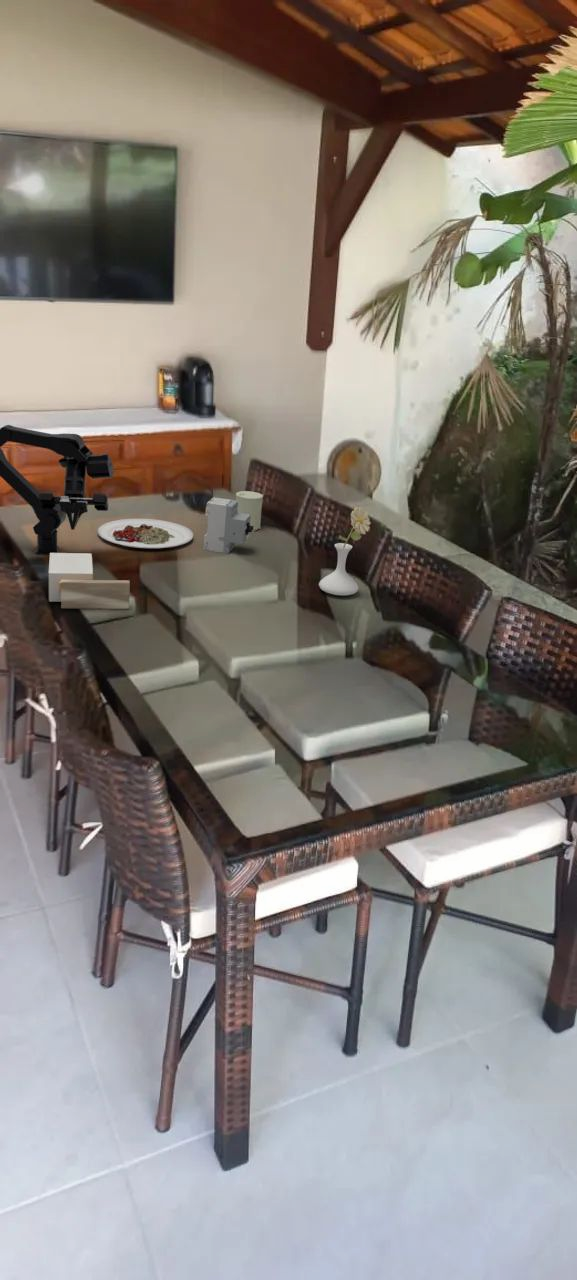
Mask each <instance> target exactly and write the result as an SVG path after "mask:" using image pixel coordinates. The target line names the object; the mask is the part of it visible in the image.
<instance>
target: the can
mask: <svg viewBox="0 0 577 1280" xmlns="http://www.w3.org/2000/svg"><path fill="white" fill-rule="evenodd" d="M263 499H264V496H263V494H262V493H259V492H257V491H256V492H255V491H247V490H243V491H237V492H236V493H235V501H238V508H237V513H244V514H250V515H251V519H250V526H254V527H253V529H257V528H260V529H261V519H262V508H263V507H262V506H263Z"/></svg>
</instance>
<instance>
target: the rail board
mask: <svg viewBox="0 0 577 1280" xmlns="http://www.w3.org/2000/svg"><path fill="white" fill-rule="evenodd" d="M130 585H131V584H130V580H129V579H128V580H127V579H126V580H123V579H122V580H119V579H117V580H116V579H115V580H113V579H108V580H107V579H93V580H61V602H60V604H61V605H60V608H61V609H99V608H100V609H102V610H103V609H111V610H113V609H114V610H115V609H116V610H120V609H123V610H124V609H125V610H126V609H130V592H131V591H130V590H131V589H130V588H131V587H130ZM100 609H99V610H100Z"/></svg>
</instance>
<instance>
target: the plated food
mask: <svg viewBox="0 0 577 1280" xmlns="http://www.w3.org/2000/svg"><path fill="white" fill-rule="evenodd" d="M97 534H98V535H99V536H100V537H101V539H103V540H105V541H108V542H110V543H113V544H116V545H121V546H123V547H129V548H134V549H150V550H151V549H152V550H153V549H165V548H166V549H167V548H174V547H178V546H182V545H185V544H187V543H189V542H191V541H192V540H193V538H194V533H193V531H192V530H191V529H190V528H188V527H187V526H184V525H183V524H179V523H176V522H171V521H168V520H164V519H163V520H162V519H153V518H123V519H122V518H121V519H118V520H117V519H116V520H113V521H109V522H105V523H104V524H102V525H100V526H99V527H98V529H97Z"/></svg>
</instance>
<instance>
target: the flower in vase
mask: <svg viewBox="0 0 577 1280" xmlns="http://www.w3.org/2000/svg"><path fill="white" fill-rule="evenodd" d="M368 513H369V512H368ZM368 513H367V512H366V510H365V509H364V508H363V507H362V506H360V507H359V506H356V507H354V508H353V510H352V511H351V513H350V521H351V523H350V524H351V526H352V528H351V529H350V530H351V531H350V532H349V534H348V536H347V538H346V537H343V535H340V534H339V536H338V539H339V540H341V541H345V542H343V543H342V542H338V543H335V544H334V548H335V549H336V552H337V562H336V563H337V565H336V568H335V570H334V571H333V572H331V573H330V574H328V575H325V576H324V577H323V578H322V579H320V581H319V582H318V586H319V588H320V590H322V591H323V592H325V593H327V594H330V595H334V596H351V595H355V594H356V593H357V592H358V591H359V586H358V583H357V582H356V581H355V580H354V579H353V578H352V577H351V576H350V575H349V574H348V573H347V571H346V561H347V557H348V554H349V553H350V551H351V550H352V548H353V545H351V544H349V543H348V541H349V539H350V538H351V539H352V540H353V541H355V542H356V541H359V540H360V539H361V538H362V535H366V532H369V531H370V529H371V528H370V525H371V521H370V519H371V518H369V514H368ZM353 530H354V531H353Z"/></svg>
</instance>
